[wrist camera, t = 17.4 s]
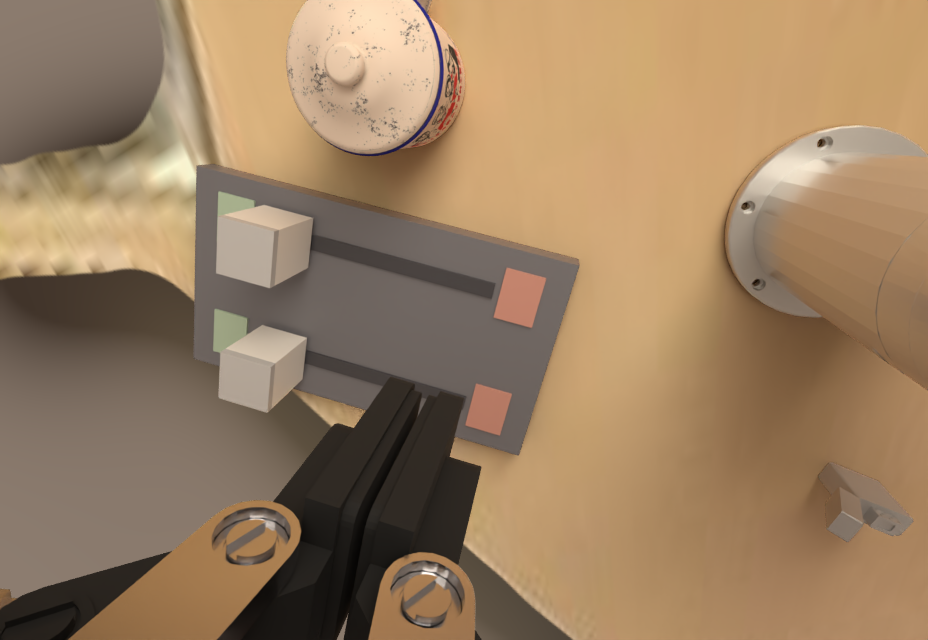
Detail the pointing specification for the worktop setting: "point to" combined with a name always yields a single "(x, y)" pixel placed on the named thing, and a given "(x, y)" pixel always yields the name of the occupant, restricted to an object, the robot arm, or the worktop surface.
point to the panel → (391, 304)
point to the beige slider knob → (261, 368)
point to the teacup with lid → (374, 74)
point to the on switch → (263, 245)
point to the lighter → (860, 504)
